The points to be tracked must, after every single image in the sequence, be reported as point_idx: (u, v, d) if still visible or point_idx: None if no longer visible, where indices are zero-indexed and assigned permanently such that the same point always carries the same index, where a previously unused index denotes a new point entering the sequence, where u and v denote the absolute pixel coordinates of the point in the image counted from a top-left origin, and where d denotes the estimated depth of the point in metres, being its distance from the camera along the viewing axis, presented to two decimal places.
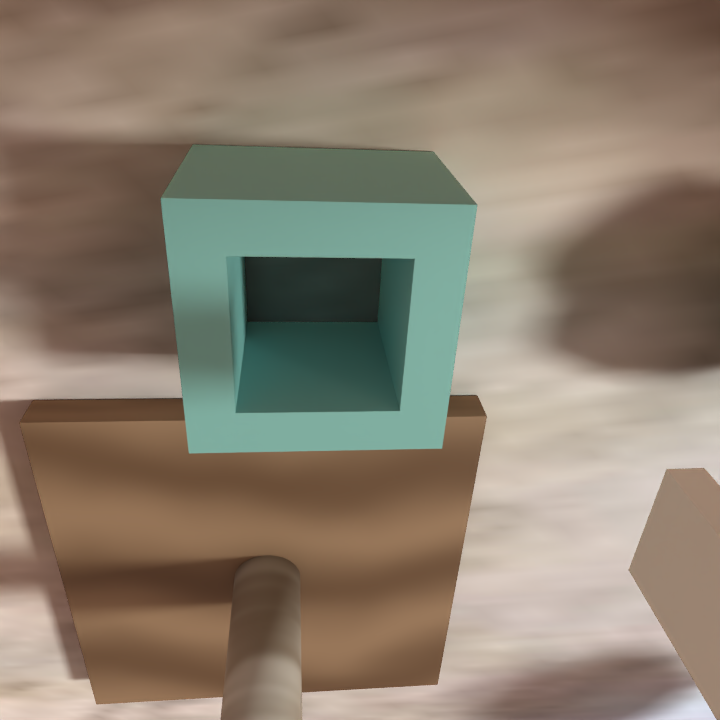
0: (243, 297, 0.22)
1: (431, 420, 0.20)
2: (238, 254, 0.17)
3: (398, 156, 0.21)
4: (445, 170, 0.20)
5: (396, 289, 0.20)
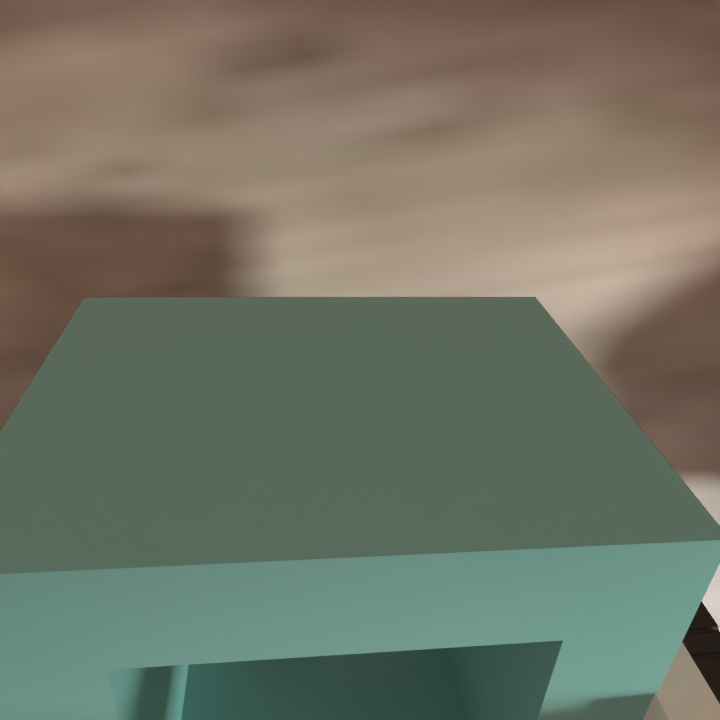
0: None
1: None
2: (137, 665, 0.07)
3: (477, 317, 0.11)
4: (584, 367, 0.10)
5: None
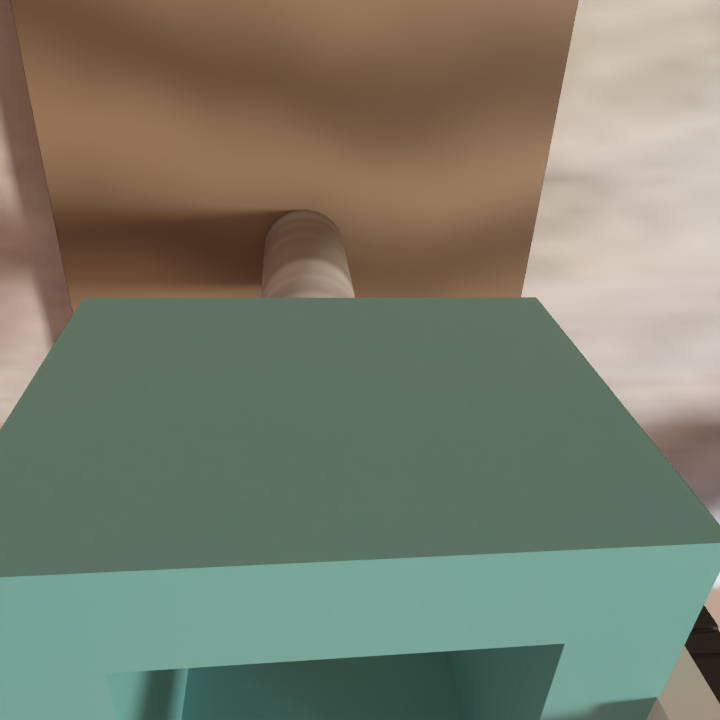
0: None
1: None
2: (136, 669, 0.07)
3: (478, 318, 0.11)
4: (586, 368, 0.10)
5: None
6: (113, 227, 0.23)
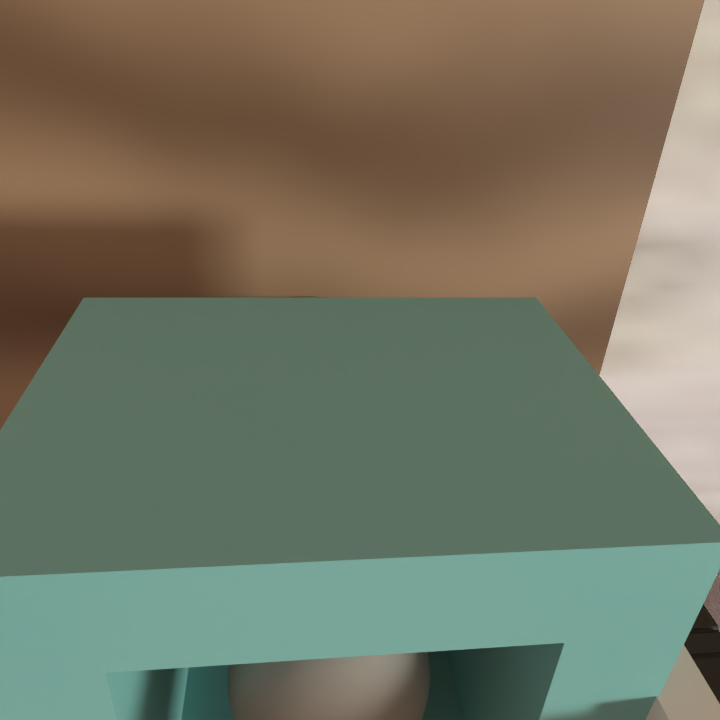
0: None
1: None
2: (136, 668, 0.07)
3: (478, 318, 0.11)
4: (586, 368, 0.10)
5: None
6: (44, 323, 0.17)
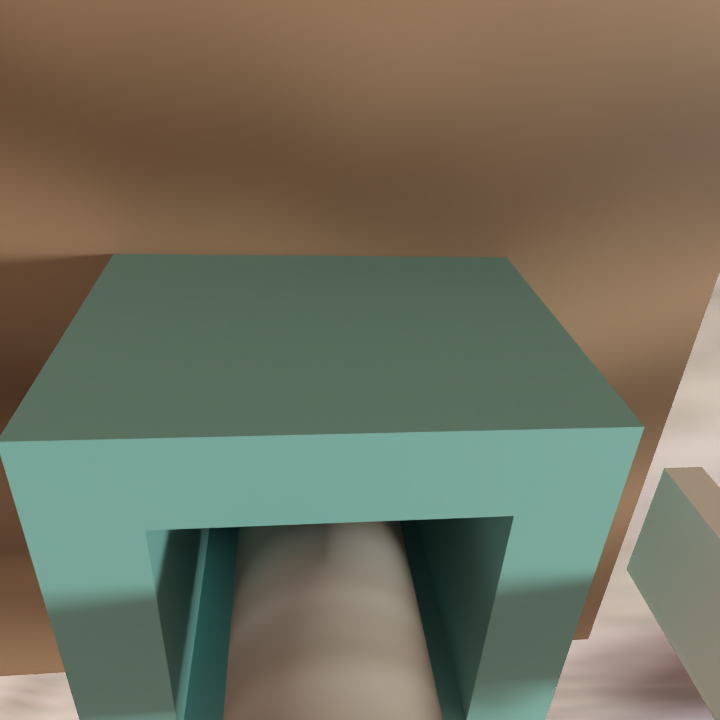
0: None
1: None
2: (170, 526, 0.08)
3: (454, 272, 0.13)
4: (543, 309, 0.11)
5: None
6: None
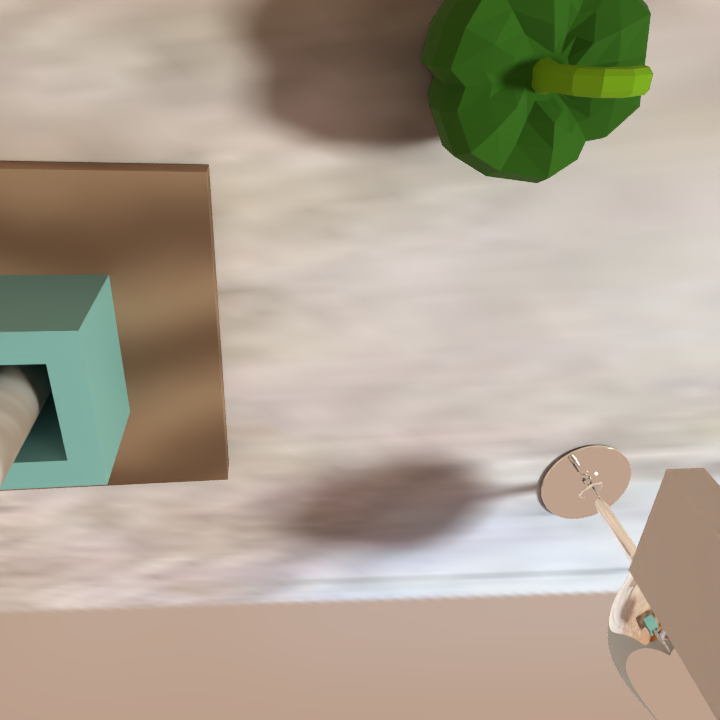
0: None
1: (92, 466, 0.29)
2: None
3: (75, 281, 0.30)
4: (94, 295, 0.29)
5: None
6: None
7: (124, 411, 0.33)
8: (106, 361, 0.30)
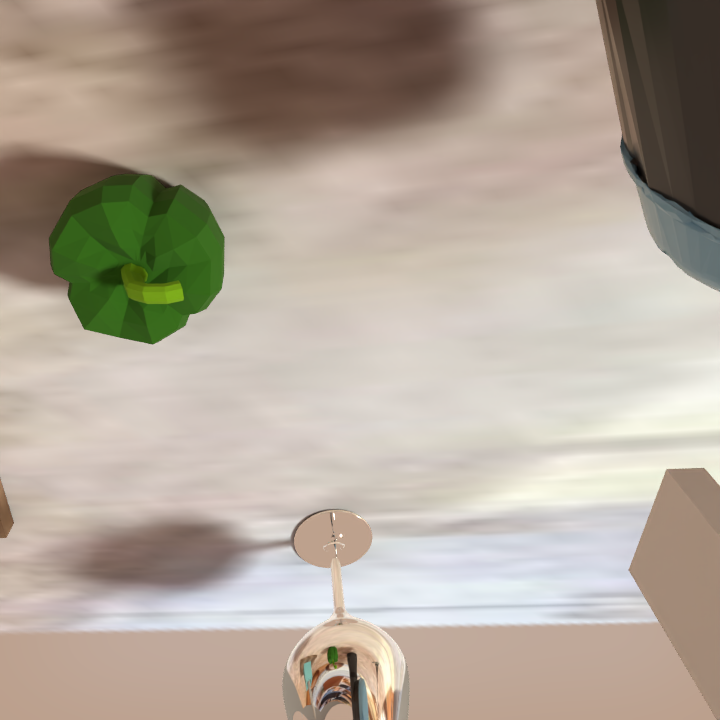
0: None
1: None
2: None
3: None
4: None
5: None
6: None
7: None
8: None
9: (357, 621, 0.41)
